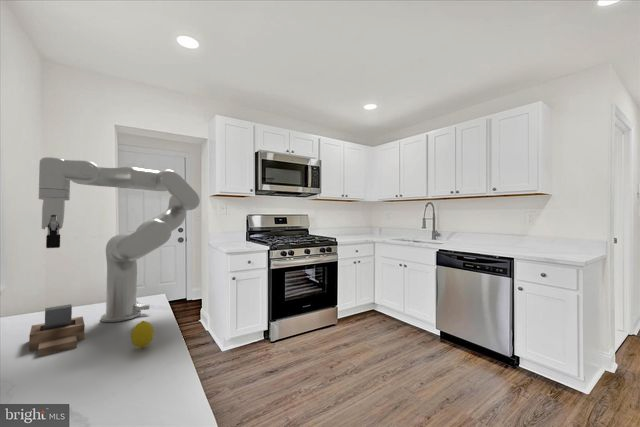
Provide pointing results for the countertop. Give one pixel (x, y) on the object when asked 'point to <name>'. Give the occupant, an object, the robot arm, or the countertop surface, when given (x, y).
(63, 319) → the bracket
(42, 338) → the socket
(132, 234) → the robot arm
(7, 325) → the countertop surface
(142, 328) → the lemon
